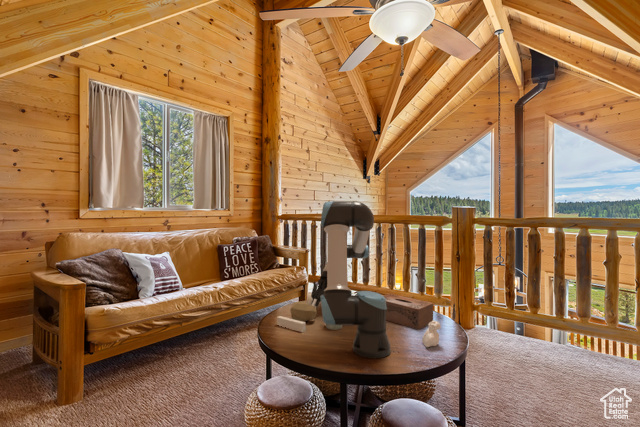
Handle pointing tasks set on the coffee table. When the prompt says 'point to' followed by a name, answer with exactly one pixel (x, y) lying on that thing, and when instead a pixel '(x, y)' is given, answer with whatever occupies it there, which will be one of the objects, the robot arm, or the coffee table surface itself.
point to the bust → (431, 334)
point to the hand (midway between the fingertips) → (311, 310)
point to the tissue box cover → (408, 311)
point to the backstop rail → (291, 324)
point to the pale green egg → (334, 327)
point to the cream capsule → (309, 298)
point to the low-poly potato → (303, 311)
